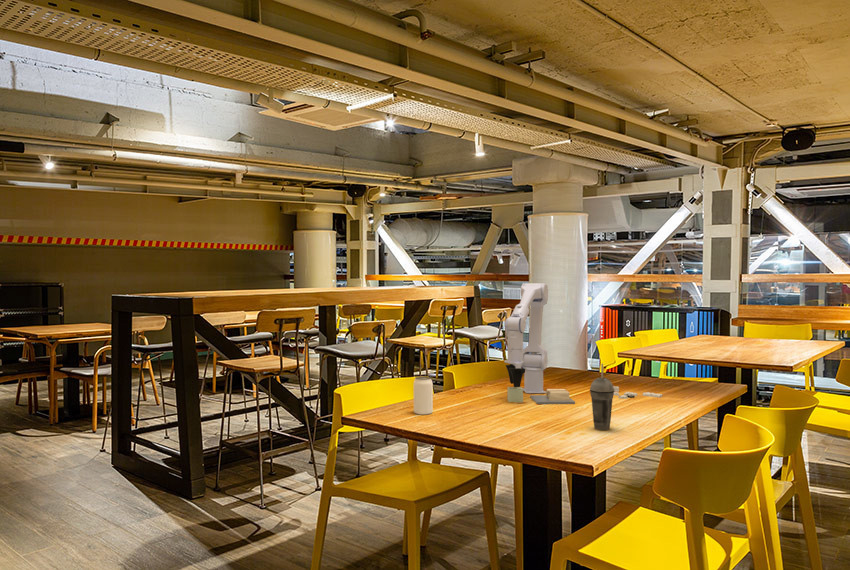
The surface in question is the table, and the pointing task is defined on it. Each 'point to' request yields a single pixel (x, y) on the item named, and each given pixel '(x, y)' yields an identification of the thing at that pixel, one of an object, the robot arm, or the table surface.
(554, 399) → the birch plinth
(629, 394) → the architectural model
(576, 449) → the table surface
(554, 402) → the gray board
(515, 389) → the sage block
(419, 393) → the can
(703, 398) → the table surface
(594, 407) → the beverage cup
